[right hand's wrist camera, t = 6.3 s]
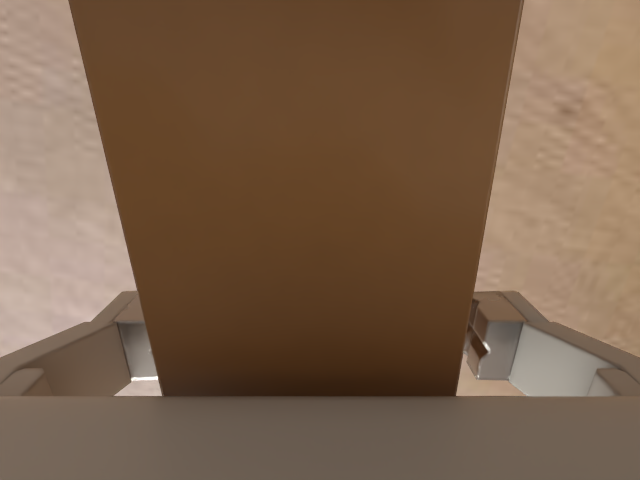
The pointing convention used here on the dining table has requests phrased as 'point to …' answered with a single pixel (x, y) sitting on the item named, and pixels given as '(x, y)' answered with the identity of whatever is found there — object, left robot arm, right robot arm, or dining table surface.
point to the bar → (302, 183)
